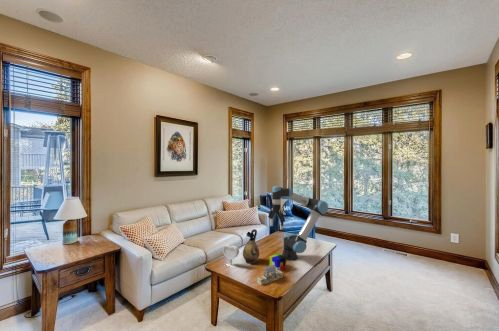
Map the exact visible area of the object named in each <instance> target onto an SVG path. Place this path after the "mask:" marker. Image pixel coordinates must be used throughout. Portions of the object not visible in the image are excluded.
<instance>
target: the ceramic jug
mask: <svg viewBox="0 0 499 331" xmlns="http://www.w3.org/2000/svg"><path fill="white" fill-rule="evenodd" d="M257 234H258V231H257V229H254V228H253V229H252V230H251V232H250V231H248V232H247V233H246V237H247V238H248V237H249V240H248V241H247V242H246V243H245V245H244V247H243V249H242V256H243V259H244V261H245V263H247V264H255V263H256V261H257V260H258V258H259V257H260V248H259V246H258V244H257V242H256V238H257Z"/></svg>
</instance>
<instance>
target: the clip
mask: <svg viewBox="0 0 499 331" xmlns="http://www.w3.org/2000/svg"><path fill="white" fill-rule="evenodd" d="M263 270H264V271H263V272H264V274H263V276H264V277H266V278H267V281H269V273H270V274H272V275H273V276H274V278H276V266H275V265H271V266H270V265H268V266H265V267H264V269H263Z"/></svg>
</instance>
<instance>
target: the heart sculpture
mask: <svg viewBox="0 0 499 331" xmlns="http://www.w3.org/2000/svg"><path fill="white" fill-rule="evenodd" d="M222 253H223V255H224V257H226V259H227V260H229V261H228V263H227V264H226V263H225V264H226V265H227V266H226V267H228V266H230V267H229V268H232V267H233V269H236V268H235V267H237V268H238V265H234V264H233V260H234V259H235V258H237V257H238V256H239V253H240V248H239V247H238V246H236V245H231V244H225V245H223V246H222Z"/></svg>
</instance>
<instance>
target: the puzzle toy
mask: <svg viewBox="0 0 499 331" xmlns="http://www.w3.org/2000/svg"><path fill="white" fill-rule="evenodd" d="M286 263H287V260H286V257H284V256H282V254H279V253H275V254H273V255H270V256H269V266H271V265H275V266H276V271H278V270H279V271H283V270H286V268H287V264H286Z"/></svg>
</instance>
